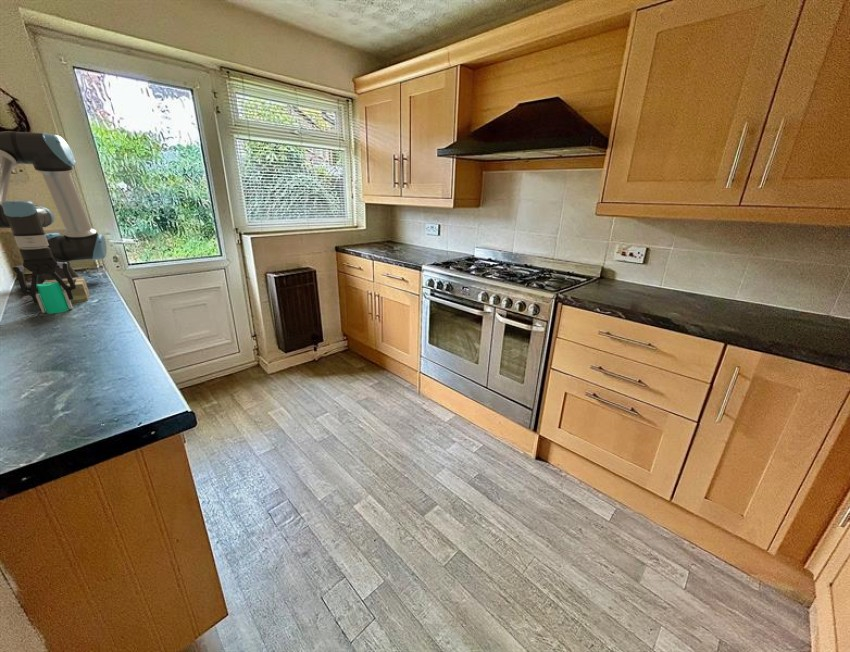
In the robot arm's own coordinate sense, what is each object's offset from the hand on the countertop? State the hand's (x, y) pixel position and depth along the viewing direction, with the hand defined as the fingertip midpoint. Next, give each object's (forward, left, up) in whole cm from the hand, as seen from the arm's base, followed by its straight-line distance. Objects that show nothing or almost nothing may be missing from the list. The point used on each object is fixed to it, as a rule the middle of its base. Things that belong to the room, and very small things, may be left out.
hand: (57, 309), depth 131 cm
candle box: (-18, +2, 0) cm, 18 cm away
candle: (0, 0, -1) cm, 1 cm away
